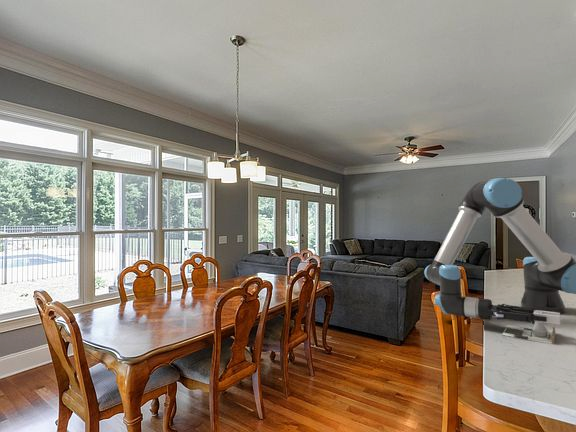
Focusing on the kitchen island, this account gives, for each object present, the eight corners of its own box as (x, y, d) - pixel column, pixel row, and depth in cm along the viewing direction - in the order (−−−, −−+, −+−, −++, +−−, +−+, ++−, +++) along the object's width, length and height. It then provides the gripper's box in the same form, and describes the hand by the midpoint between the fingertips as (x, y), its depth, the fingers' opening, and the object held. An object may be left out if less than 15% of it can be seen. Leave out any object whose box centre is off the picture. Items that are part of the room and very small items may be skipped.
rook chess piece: (541, 332, 111) (539, 309, 111) (552, 336, 107) (550, 312, 107) (528, 332, 111) (527, 309, 111) (539, 337, 106) (537, 313, 107)
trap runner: (507, 326, 120) (506, 320, 120) (555, 333, 111) (555, 327, 111) (502, 335, 111) (501, 329, 111) (554, 344, 102) (553, 337, 102)
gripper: (484, 313, 127) (561, 323, 111) (474, 324, 115) (560, 337, 99) (482, 294, 127) (560, 302, 111) (473, 303, 115) (558, 313, 99)
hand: (559, 318), depth 105 cm, fingers closed on rook chess piece, 3 cm apart
